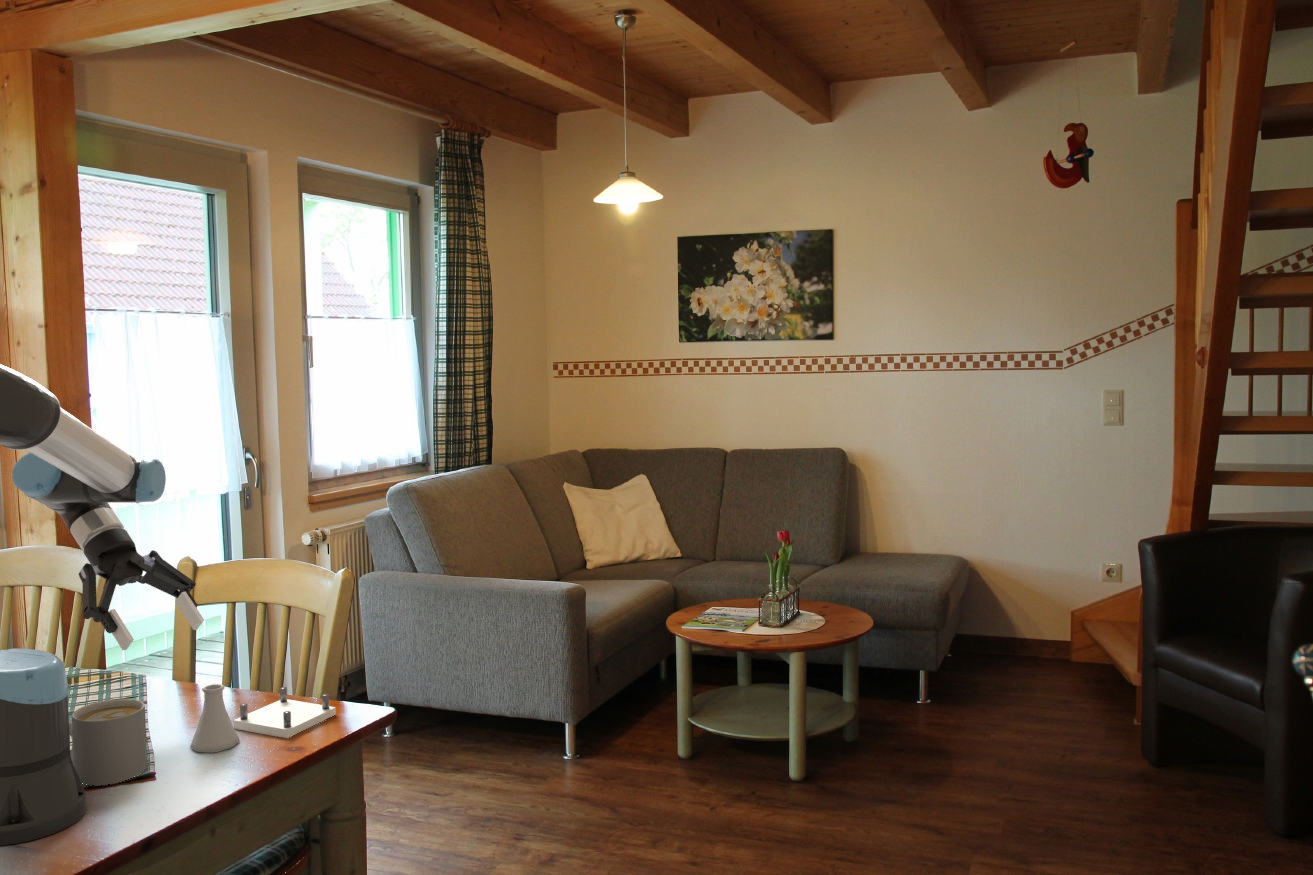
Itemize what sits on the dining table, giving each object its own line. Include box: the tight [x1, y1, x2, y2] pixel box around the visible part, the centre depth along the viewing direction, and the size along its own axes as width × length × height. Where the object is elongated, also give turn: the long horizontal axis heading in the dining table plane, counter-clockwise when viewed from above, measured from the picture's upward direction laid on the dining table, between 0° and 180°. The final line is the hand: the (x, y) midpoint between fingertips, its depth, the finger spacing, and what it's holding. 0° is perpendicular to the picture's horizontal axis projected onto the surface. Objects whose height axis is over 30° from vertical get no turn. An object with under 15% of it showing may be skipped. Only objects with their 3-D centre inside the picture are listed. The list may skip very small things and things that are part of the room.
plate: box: [233, 698, 337, 739], centre depth 179 cm, size 12×12×2 cm
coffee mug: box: [69, 698, 148, 787], centre depth 157 cm, size 13×10×10 cm
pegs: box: [239, 686, 330, 728], centre depth 179 cm, size 11×11×2 cm
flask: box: [189, 683, 241, 753], centre depth 168 cm, size 7×7×10 cm
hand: (165, 634), depth 173 cm, fingers open, 13 cm apart
